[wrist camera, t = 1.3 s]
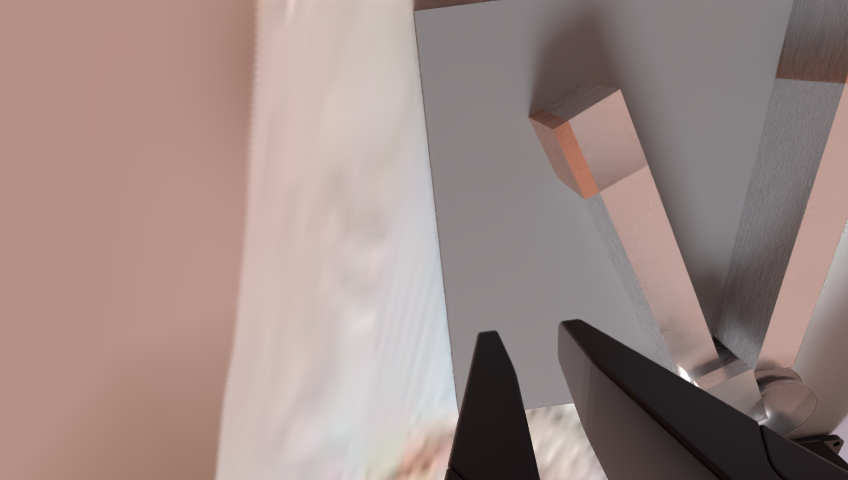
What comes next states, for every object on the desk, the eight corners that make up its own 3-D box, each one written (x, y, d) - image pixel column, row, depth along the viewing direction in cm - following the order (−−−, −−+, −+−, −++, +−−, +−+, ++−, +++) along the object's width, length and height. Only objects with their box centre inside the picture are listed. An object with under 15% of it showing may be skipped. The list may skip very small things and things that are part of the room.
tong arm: (758, 364, 24) (820, 418, 21) (667, 405, 25) (711, 463, 22) (657, 37, 16) (731, 34, 13) (528, 117, 17) (563, 134, 14)
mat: (765, 363, 26) (779, 374, 25) (457, 405, 26) (459, 418, 25) (901, -50, 16) (931, -56, 15) (413, 13, 16) (414, 11, 15)
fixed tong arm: (747, 379, 25) (790, 419, 22) (683, 387, 25) (719, 429, 22) (870, -19, 16) (968, -32, 13) (770, -6, 16) (848, -17, 13)
